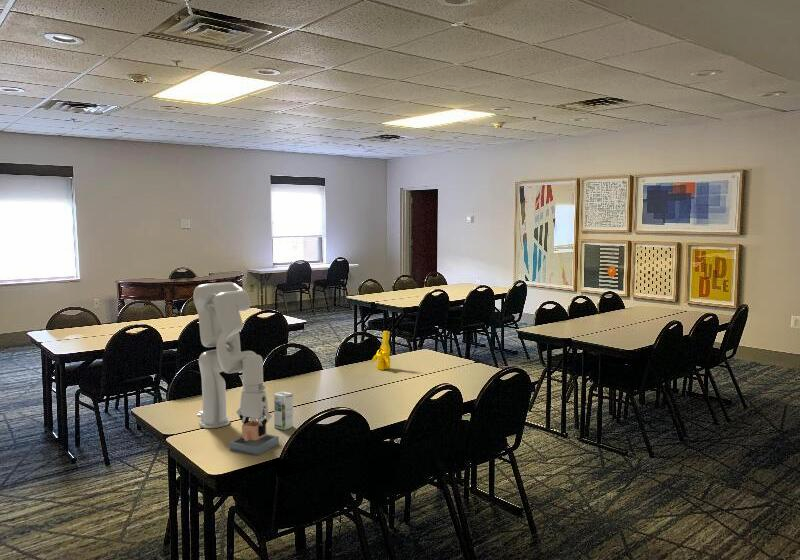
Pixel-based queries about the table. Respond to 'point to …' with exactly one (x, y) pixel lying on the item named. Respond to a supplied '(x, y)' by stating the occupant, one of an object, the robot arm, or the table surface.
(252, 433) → the salmon pink block
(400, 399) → the table surface
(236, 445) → the tray
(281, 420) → the syrup box
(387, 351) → the figure statuette
